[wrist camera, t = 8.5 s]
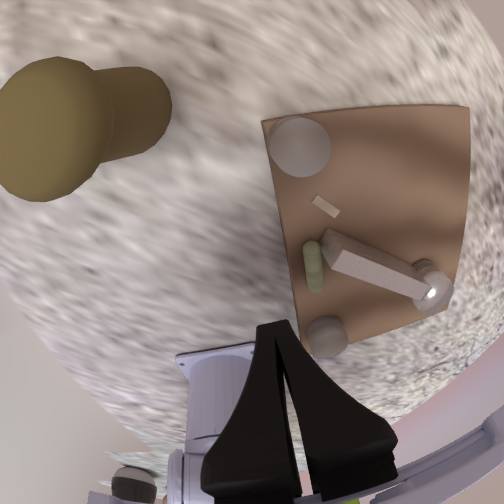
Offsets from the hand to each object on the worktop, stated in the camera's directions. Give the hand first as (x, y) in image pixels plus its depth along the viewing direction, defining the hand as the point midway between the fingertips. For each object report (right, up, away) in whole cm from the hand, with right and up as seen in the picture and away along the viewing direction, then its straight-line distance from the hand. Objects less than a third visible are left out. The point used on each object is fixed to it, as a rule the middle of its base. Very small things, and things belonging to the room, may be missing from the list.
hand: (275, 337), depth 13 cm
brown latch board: (+9, +5, +9) cm, 14 cm away
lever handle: (+9, +3, +8) cm, 13 cm away
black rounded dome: (-27, -45, +34) cm, 62 cm away
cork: (-9, +13, +3) cm, 16 cm away
